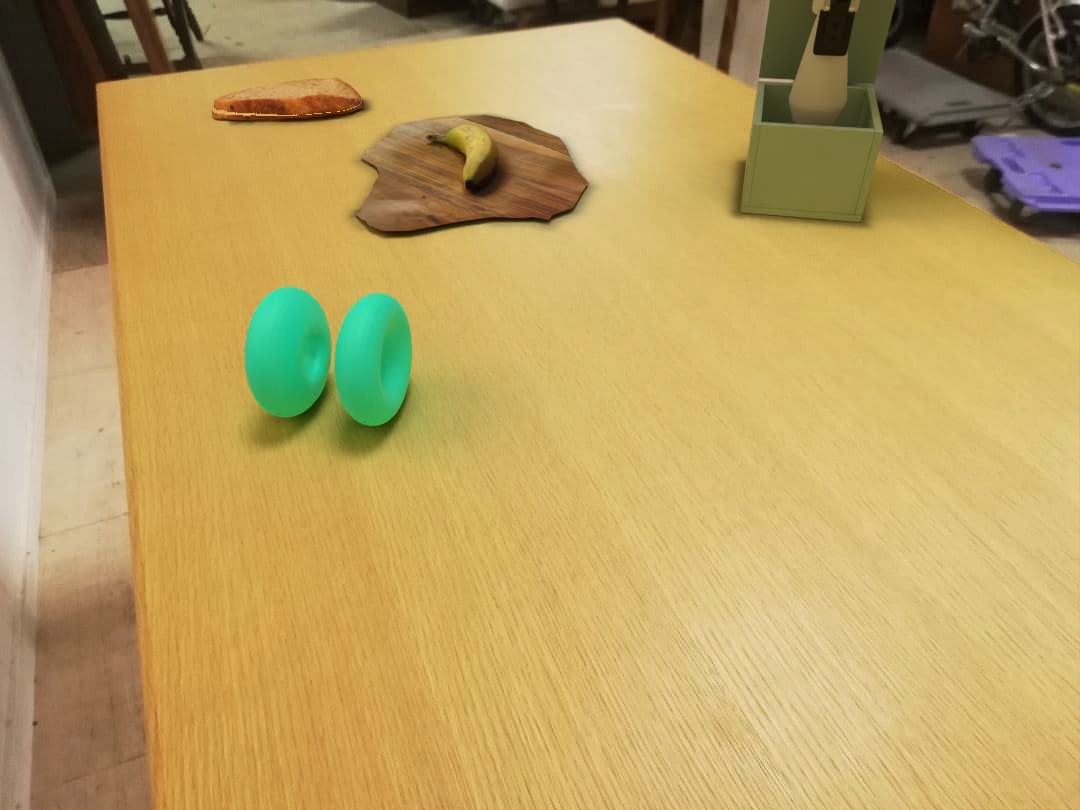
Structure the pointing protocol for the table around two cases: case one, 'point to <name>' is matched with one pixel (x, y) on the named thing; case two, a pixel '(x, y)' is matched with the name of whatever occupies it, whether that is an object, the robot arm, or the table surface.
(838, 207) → the storage bin
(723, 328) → the table surface
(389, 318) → the donuts
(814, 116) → the salt shaker
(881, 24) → the box lid
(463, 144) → the cutting board
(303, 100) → the bread slice
